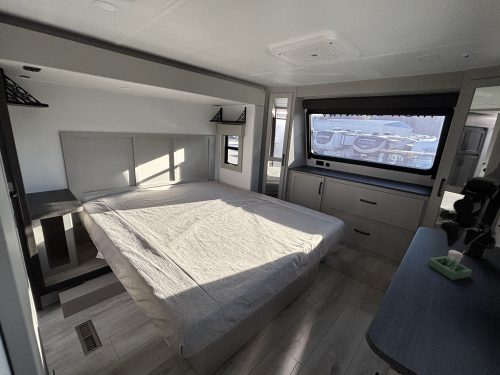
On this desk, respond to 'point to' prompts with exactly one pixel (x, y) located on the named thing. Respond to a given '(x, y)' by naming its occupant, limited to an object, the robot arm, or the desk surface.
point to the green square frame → (460, 273)
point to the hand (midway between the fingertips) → (457, 245)
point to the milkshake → (453, 259)
